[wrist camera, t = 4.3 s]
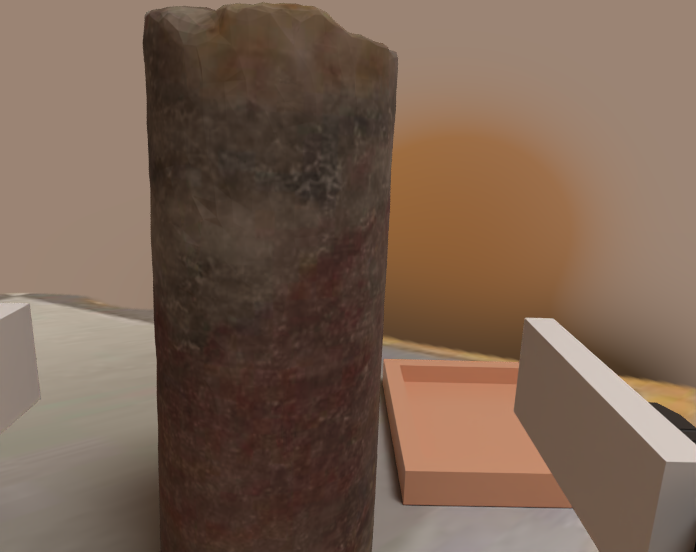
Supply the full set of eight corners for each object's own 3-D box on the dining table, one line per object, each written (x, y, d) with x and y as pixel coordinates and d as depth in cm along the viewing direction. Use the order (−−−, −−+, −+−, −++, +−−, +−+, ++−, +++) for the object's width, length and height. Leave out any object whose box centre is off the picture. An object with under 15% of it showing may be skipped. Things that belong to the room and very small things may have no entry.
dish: (403, 504, 26) (405, 470, 25) (382, 382, 38) (383, 358, 38) (675, 509, 26) (683, 476, 26) (566, 387, 39) (569, 363, 38)
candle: (290, 505, 25) (294, 42, 20) (414, 602, 20) (459, 19, 15) (128, 596, 20) (79, 4, 15) (240, 756, 15) (222, -51, 10)
